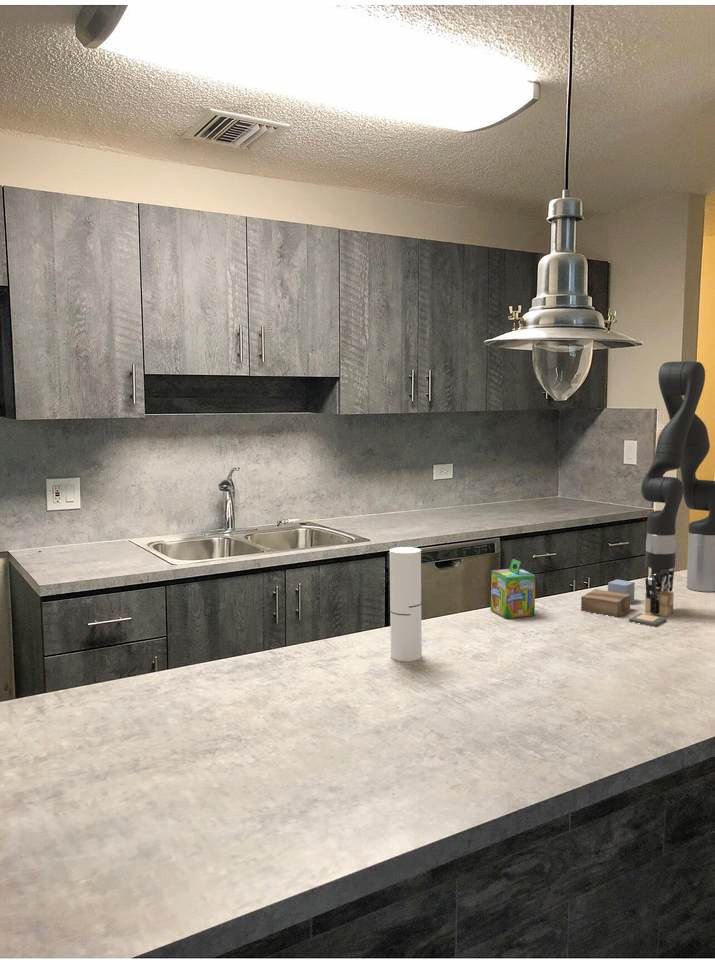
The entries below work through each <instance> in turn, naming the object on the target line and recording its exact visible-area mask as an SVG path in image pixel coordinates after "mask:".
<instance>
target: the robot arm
mask: <svg viewBox="0 0 715 960" xmlns="http://www.w3.org/2000/svg"><path fill="white" fill-rule="evenodd" d="M705 382H706V370H705V366H704V365H703V363H701V361H691V360H690V361H689V360H688V361H668V362H664V363H662V365H661V366H660V367H659V370H658V385H659V390H660V393H661V396H662V399H663V402H664V405H665V408H666V411H667V414H668V418H669V421H668V422H667V423H666V424H665V426H664V427H663V429H662V430H661V431H660V434H659V436H658V437H657V441H656V446H655V453H654V458H653V460H652V463H651V465H650V467H649V468H648V470H647V472H646V475H645V476H644V477H643V480H642V483H641V488H640V489H641V490H640V491H641V495H642V498H643V499H644V500H646V501H647V502H651V503H652V502H653V503H662V504H664V507H663V508H662V510H652V511H650V512H649V513H648V514H647V515H648V516H647V525H646V526H647V528H646V529H647V534H646V538H645V539H646V540H645V566H646V567H647V568H650V569H651V572H650V576H649V577H648V576H646V577H645V595H646V597H647V598H649V599H650V612H651V613H654V614H658V613H659V602H660V600H659V599H660V594H661V592H663V591H666V592H672V591H673V588H674V587H673V586H674V576H675V571H674V570H673V569H675V567H676V554H677V553H676V552H677V549H676V548H677V540H676V539H677V538H676V521H677V520H676V519H677V516H678V512H679V508H680V505H681V502H682V500H684V503H685V504H684V505H685V506H686V507H687V508H688V509H689V510H696V511H704V512H708V515H707V516H706V517H704V518H702V519H698V520H695V521H691V522H690V523H689V524H688V537H687V538H688V539H687V540H688V541H687V568H686V569H687V571H686V587H687V589H690V590H692V591H696V592H704V593H707V592H715V480H709V479H707V480H706V479H698V478H697V476H696V473H697V471H698V469H699V467H700V465H702V463H703V462H704V460H705V459H706V458H707V456H708V453H709V452H710V447H711V445H710V444H711V442H710V438H709V433H708V428H707V425H706V424H705V423H704V421H703V420H702V419H701V418H700V417H699V416H698V415H697V414H696V411H697V409H698V406H699V402H700V400H701V396H702V394H703V390H704V387H705ZM682 396H684V398H683V397H682ZM678 469H680V477H681V480H680V478H677V477H674V476H673V477H671V476H664V475H665V474H666V473H667V472H670V471H675V470H678Z"/></svg>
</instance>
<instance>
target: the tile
mask: <svg viewBox="0 0 715 960" xmlns="http://www.w3.org/2000/svg"><path fill="white" fill-rule="evenodd" d="M629 621H630V622H629ZM666 621H667V617H664V616H659V615H653V614H648V613H642V612H639V613H638V614H635V615H634V616H632V617H630V618H628V622H629V623H632V622H635V623H634V624H638V623H640V624H639V625H643V624H645V625H644V626H648V625H649V626H650V627H653V626H654V628H656V627H658V626H659V624H660V625H662V624H663V623H665V622H666ZM661 623H662V624H661Z"/></svg>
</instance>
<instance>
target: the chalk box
mask: <svg viewBox="0 0 715 960" xmlns="http://www.w3.org/2000/svg"><path fill="white" fill-rule="evenodd" d="M515 565H516V568H514V566H515ZM521 566H522V562H521V561H520V560H517V559H514V558H513V559H512V560H511V561H510V566H509V568H506V569H494V570H492V569H491V576H490V577H491V578H490V580H491V582H490V583H491V585H490V586H491V587H490V611H492V612H494V613H495V614H498V615H499V616H501V617H502V618H503V619H505V620H507V619H513V618H515V619H516V618H525V617H534V616H536V615H535V614H536V613H535V611H536V609H535V608H536V607H535V606H536V605H535V604H536V602H535V601H536V580H537V579H536V575H535V574H534V573H532V572H529V571H527V570H525V569H523V568H521Z"/></svg>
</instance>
